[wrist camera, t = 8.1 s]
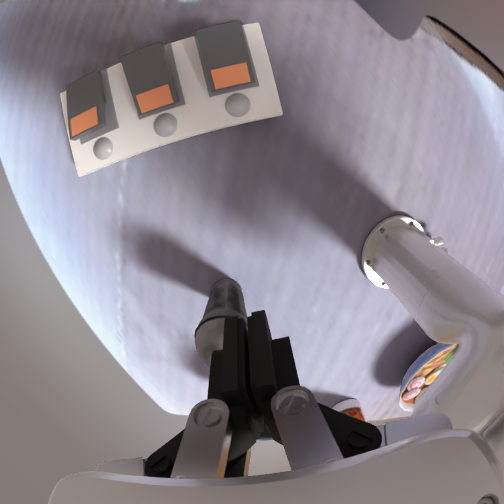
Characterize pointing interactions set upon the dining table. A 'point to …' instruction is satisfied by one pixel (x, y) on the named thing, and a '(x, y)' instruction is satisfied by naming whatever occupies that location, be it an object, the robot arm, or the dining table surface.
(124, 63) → the middle rocker
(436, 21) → the dining table surface
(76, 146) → the rocker switch panel
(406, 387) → the ramen bowl
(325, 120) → the dining table surface
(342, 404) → the milk bottle
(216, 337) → the beverage cup
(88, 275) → the dining table surface
